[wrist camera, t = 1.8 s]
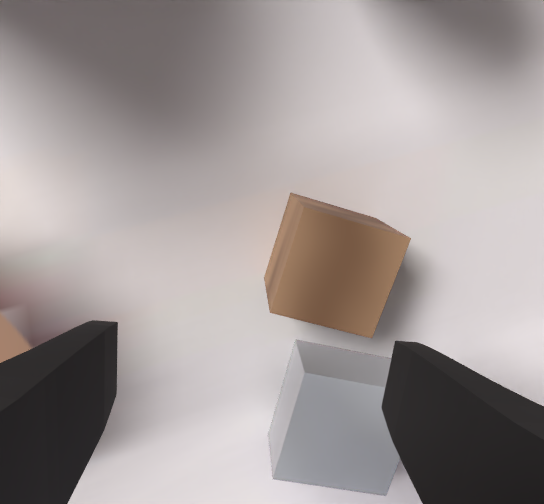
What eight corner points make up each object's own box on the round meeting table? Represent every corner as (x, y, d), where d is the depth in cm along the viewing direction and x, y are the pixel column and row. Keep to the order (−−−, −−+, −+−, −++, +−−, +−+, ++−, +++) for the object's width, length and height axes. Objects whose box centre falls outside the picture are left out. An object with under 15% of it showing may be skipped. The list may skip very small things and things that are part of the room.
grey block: (397, 357, 23) (424, 394, 20) (365, 447, 24) (385, 495, 21) (294, 337, 22) (304, 372, 19) (267, 431, 24) (272, 479, 20)
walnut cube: (375, 217, 21) (410, 238, 16) (345, 298, 22) (371, 338, 17) (290, 192, 20) (303, 206, 16) (264, 277, 21) (270, 312, 17)
